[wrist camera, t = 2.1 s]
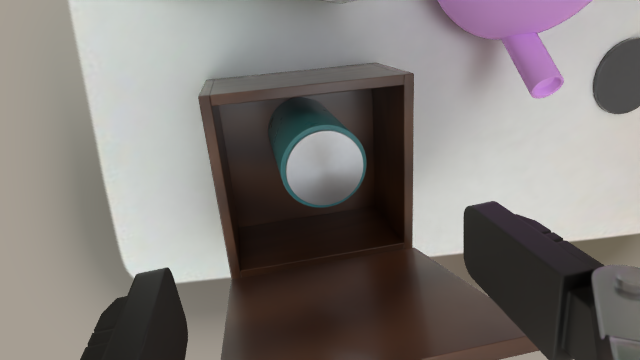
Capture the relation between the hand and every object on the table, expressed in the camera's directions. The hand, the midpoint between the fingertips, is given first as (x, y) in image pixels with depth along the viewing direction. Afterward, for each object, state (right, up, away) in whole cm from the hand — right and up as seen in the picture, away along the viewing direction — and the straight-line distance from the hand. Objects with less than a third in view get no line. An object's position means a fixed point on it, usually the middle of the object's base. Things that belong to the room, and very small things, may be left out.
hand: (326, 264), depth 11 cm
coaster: (+29, +12, +28) cm, 42 cm away
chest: (-2, +5, +25) cm, 25 cm away
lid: (+1, -5, +13) cm, 13 cm away
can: (-2, +6, +23) cm, 24 cm away
